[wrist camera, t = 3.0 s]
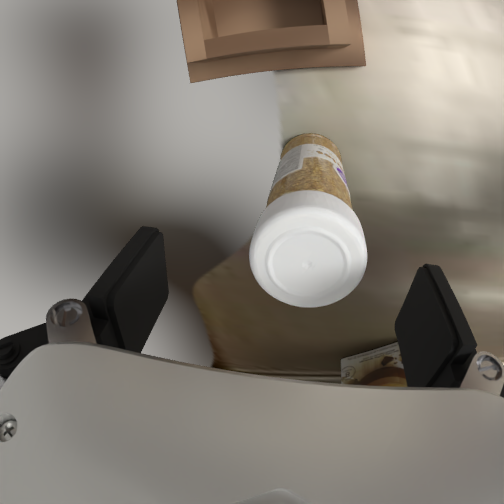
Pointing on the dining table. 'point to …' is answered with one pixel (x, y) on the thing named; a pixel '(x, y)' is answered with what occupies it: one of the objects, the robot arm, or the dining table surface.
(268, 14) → the condiment rack
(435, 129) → the dining table surface
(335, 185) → the sprinkles bottle
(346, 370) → the coffee box
